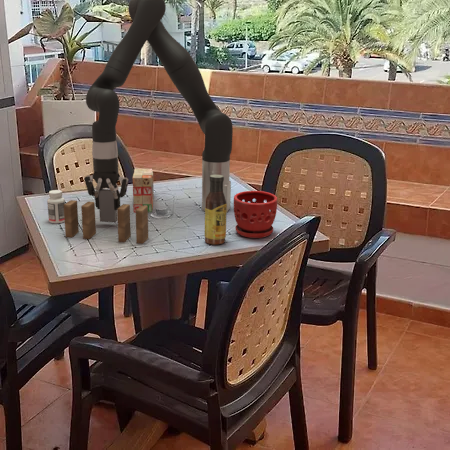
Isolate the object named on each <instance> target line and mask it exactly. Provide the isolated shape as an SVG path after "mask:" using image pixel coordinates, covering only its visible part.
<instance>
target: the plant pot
mask: <svg viewBox="0 0 450 450" xmlns="http://www.w3.org/2000/svg"><path fill="white" fill-rule="evenodd" d="M253 200H255V201H253ZM265 201H266V202H265ZM277 211H278V197H277V196H276V195H275V194H274V193H271V192H267V191H263V190H245V191H240V192H238V193H236V194H234V196H233V213H234V218H235V222H236V225H235V228H234V229H235V231H236V233H237V234H238V235H240V236H242V237H246V238H250V239H262V238H265V237H269V236H270V235H272V234H273V232H274V226H273V224H274V222H275V220H276V219H275V218H276V216H277Z"/></svg>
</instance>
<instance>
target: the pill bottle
mask: <svg viewBox="0 0 450 450" xmlns="http://www.w3.org/2000/svg"><path fill="white" fill-rule="evenodd" d="M46 202H47V212H48V213H47V215H48V222H49V223H51V224H62V223H65V219H64V204H66V200H65V198H64V197H63V191H62V190H60V189H53V190H49V192H48V198H47V201H46Z"/></svg>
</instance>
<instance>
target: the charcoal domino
mask: <svg viewBox="0 0 450 450" xmlns="http://www.w3.org/2000/svg"><path fill="white" fill-rule="evenodd" d="M114 199H115V198H114V196H113V193H112V192H111V190H110V189H108V188H103V189H101V190H100V192H99V208H100V209H98V210H99V211H98V212H99V222H102V223H117V222H118V216H117V210H114Z"/></svg>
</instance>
